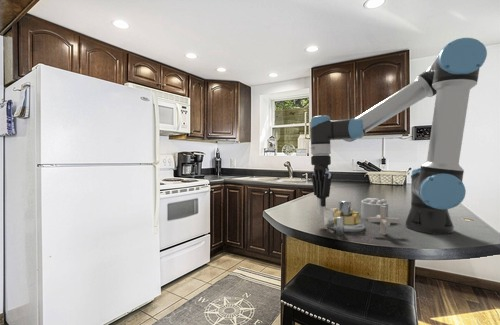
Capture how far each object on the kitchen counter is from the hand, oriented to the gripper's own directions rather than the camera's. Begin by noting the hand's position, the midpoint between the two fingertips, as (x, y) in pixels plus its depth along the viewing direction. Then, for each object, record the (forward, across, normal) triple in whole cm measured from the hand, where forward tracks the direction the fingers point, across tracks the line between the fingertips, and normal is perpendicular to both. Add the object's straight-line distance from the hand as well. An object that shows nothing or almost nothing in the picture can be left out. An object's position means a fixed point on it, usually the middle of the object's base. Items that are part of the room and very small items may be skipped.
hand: (321, 214), depth 102 cm
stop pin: (+5, +12, 0) cm, 13 cm away
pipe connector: (+5, +16, +15) cm, 22 cm away
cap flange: (+5, +4, +8) cm, 10 cm away
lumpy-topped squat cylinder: (+5, -6, +30) cm, 31 cm away
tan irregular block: (+2, +5, +5) cm, 7 cm away
